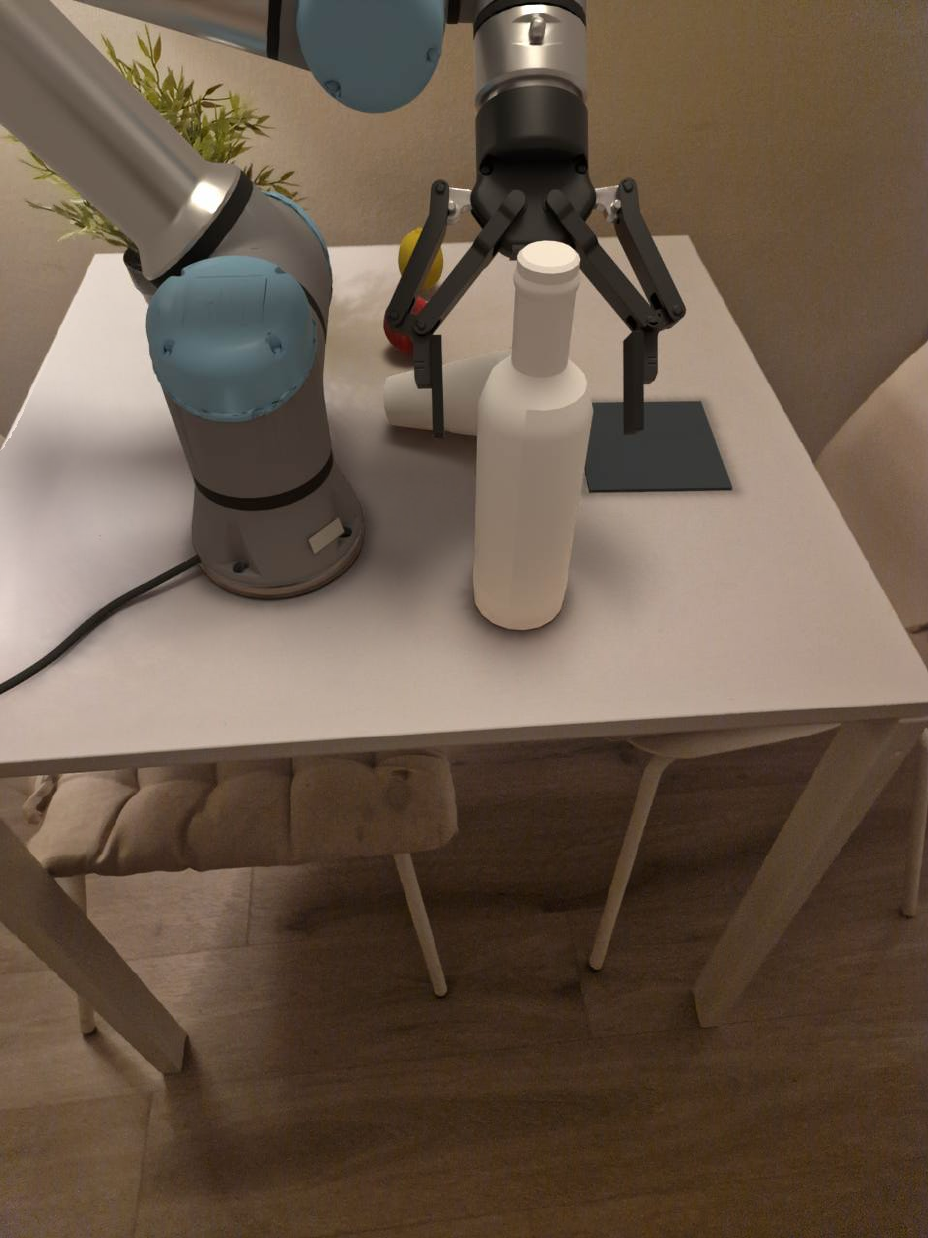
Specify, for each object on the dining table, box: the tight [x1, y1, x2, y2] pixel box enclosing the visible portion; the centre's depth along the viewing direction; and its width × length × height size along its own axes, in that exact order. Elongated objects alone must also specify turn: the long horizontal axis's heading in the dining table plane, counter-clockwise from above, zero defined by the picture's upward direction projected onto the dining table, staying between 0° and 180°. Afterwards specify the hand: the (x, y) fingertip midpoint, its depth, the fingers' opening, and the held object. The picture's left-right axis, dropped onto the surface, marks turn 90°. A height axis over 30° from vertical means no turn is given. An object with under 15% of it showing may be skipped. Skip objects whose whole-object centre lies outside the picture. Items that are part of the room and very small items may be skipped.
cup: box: [383, 346, 573, 437], centre depth 79 cm, size 11×11×18 cm
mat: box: [584, 400, 733, 493], centre depth 82 cm, size 14×14×1 cm
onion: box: [382, 295, 427, 355], centre depth 89 cm, size 6×6×8 cm
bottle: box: [472, 241, 593, 631], centre depth 57 cm, size 8×8×30 cm
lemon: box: [397, 227, 444, 294], centre depth 98 cm, size 6×6×8 cm
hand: (536, 435), depth 55 cm, fingers open, 13 cm apart
